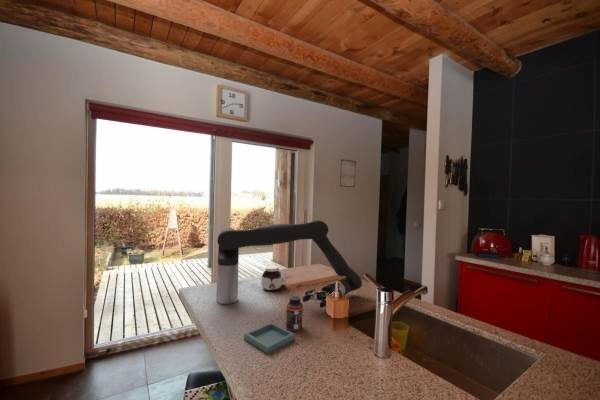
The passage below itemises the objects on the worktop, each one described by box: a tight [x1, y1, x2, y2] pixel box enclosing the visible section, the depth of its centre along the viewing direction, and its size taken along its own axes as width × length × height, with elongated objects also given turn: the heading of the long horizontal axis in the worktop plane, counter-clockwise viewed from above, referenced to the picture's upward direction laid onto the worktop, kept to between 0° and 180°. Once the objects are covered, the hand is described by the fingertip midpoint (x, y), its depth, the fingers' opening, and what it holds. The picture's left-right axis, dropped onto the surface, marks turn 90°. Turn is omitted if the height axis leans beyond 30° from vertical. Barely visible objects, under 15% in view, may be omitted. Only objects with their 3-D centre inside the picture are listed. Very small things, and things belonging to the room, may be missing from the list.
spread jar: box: [261, 265, 287, 292], centre depth 145 cm, size 12×11×12 cm
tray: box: [243, 321, 296, 356], centre depth 92 cm, size 12×12×2 cm
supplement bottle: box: [285, 295, 304, 332], centre depth 101 cm, size 6×6×11 cm
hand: (311, 302), depth 110 cm, fingers open, 8 cm apart
